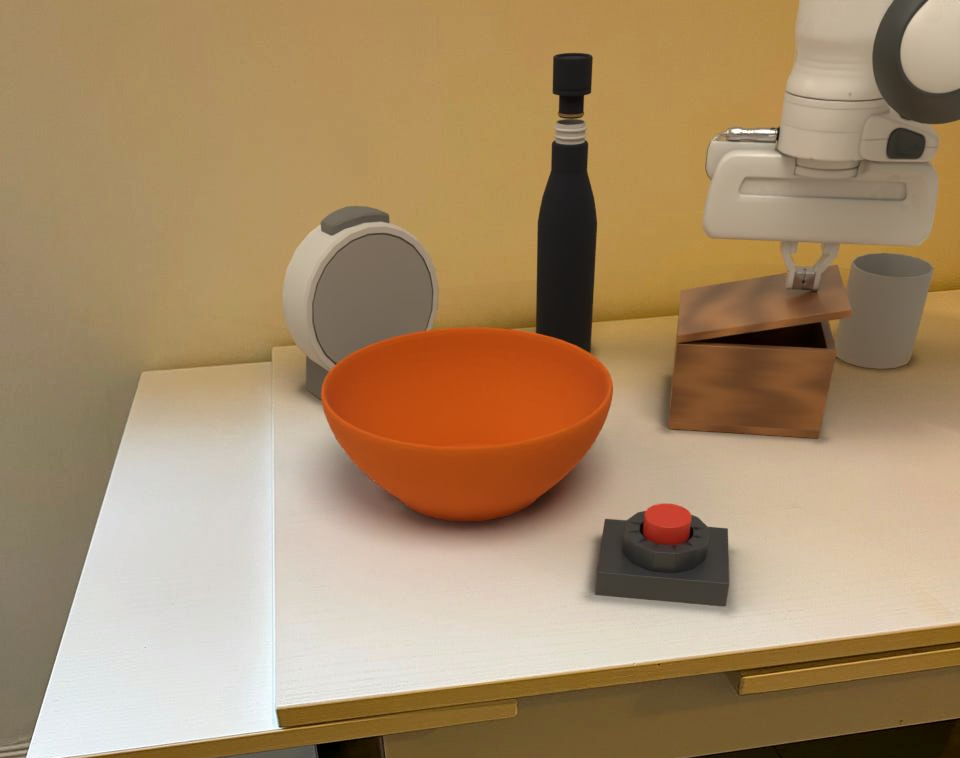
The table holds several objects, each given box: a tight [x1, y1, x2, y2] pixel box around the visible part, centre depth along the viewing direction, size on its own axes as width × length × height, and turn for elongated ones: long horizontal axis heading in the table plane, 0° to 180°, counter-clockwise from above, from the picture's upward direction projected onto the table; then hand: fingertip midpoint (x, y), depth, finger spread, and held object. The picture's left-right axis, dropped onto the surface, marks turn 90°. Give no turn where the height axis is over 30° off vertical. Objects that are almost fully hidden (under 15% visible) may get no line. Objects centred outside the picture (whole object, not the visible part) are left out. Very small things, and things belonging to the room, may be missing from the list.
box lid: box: [677, 264, 852, 343], centre depth 97 cm, size 16×13×1 cm
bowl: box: [320, 326, 614, 522], centre depth 89 cm, size 25×25×10 cm
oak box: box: [667, 315, 837, 439], centre depth 101 cm, size 15×13×9 cm
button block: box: [594, 510, 730, 607], centre depth 79 cm, size 10×8×4 cm
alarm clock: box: [281, 205, 440, 400], centre depth 104 cm, size 16×10×18 cm, turn 126°
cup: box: [834, 252, 935, 370], centre depth 110 cm, size 8×8×10 cm
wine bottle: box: [535, 52, 598, 354], centre depth 106 cm, size 6×6×30 cm
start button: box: [643, 503, 692, 545], centre depth 77 cm, size 4×4×2 cm
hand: (801, 288), depth 95 cm, fingers closed
